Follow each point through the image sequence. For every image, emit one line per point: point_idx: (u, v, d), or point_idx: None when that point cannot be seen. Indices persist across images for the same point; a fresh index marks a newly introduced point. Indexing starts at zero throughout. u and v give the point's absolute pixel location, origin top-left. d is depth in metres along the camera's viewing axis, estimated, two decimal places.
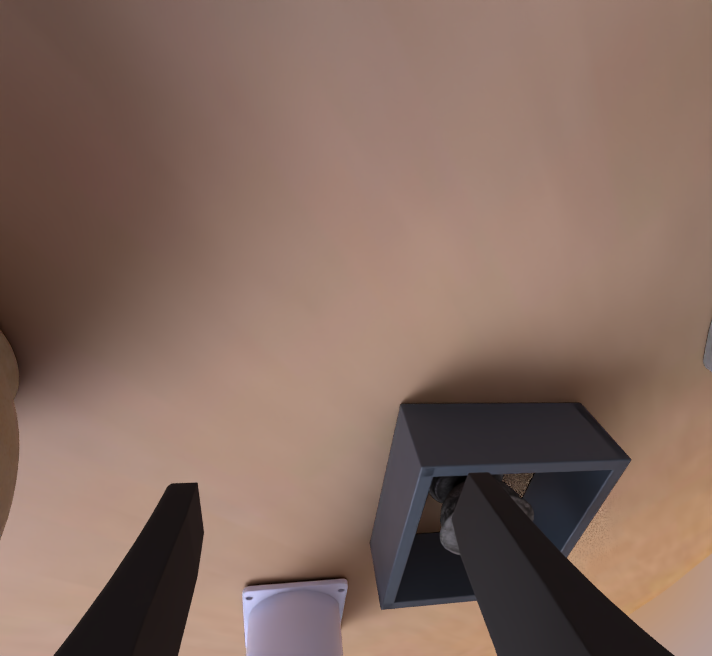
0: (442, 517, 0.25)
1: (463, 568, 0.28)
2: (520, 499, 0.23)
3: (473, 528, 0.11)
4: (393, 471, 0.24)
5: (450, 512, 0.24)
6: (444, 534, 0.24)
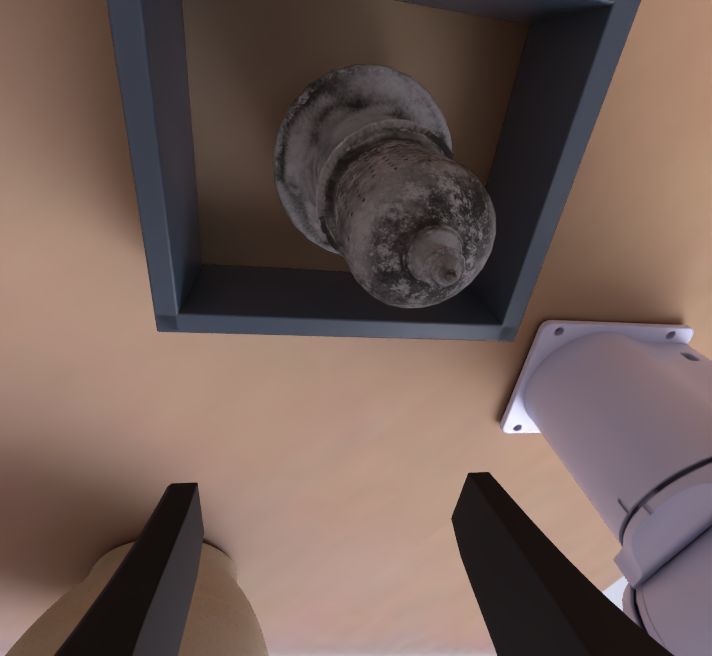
0: None
1: (524, 173, 0.15)
2: (285, 116, 0.12)
3: (473, 528, 0.11)
4: None
5: None
6: None
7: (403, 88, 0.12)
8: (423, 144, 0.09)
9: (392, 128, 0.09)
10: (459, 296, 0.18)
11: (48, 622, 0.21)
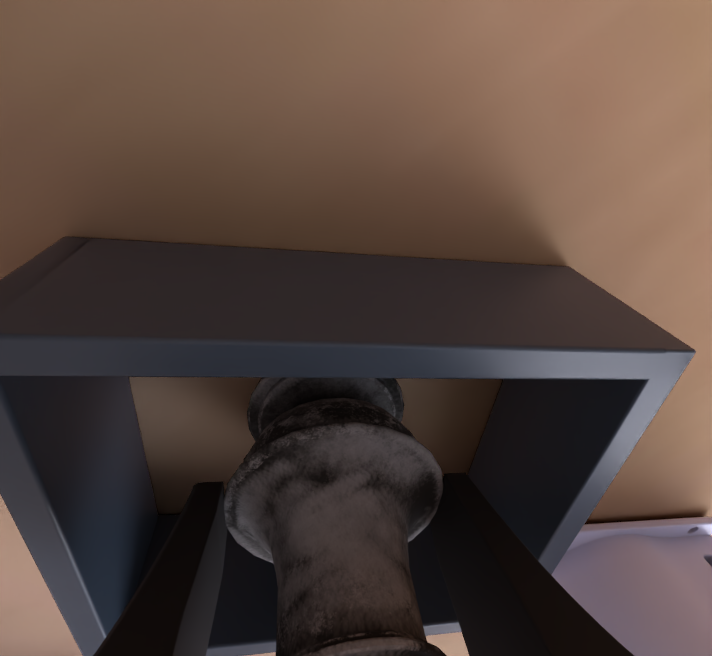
0: None
1: (531, 465, 0.12)
2: (234, 477, 0.10)
3: (448, 530, 0.10)
4: None
5: None
6: None
7: (380, 444, 0.10)
8: None
9: None
10: None
11: None
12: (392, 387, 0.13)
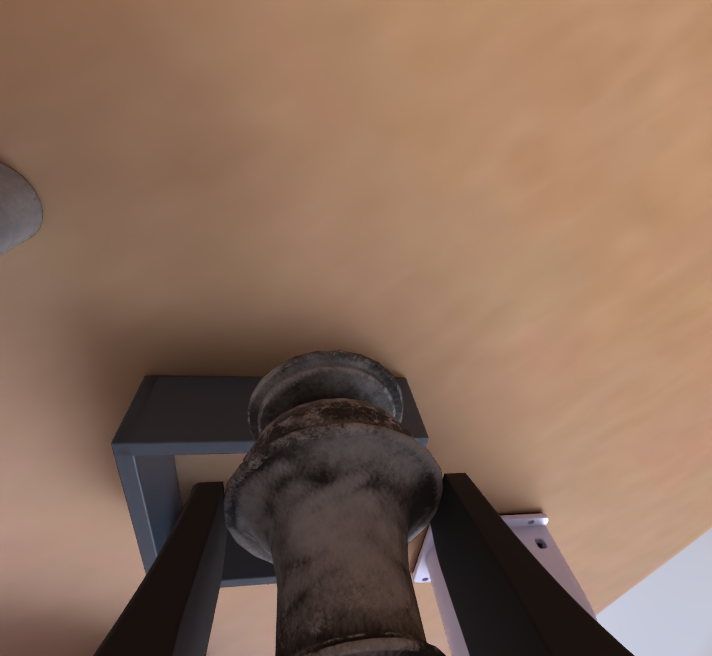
0: None
1: None
2: (234, 477, 0.10)
3: (448, 530, 0.10)
4: None
5: None
6: None
7: (380, 445, 0.10)
8: None
9: None
10: None
11: None
12: (392, 387, 0.13)
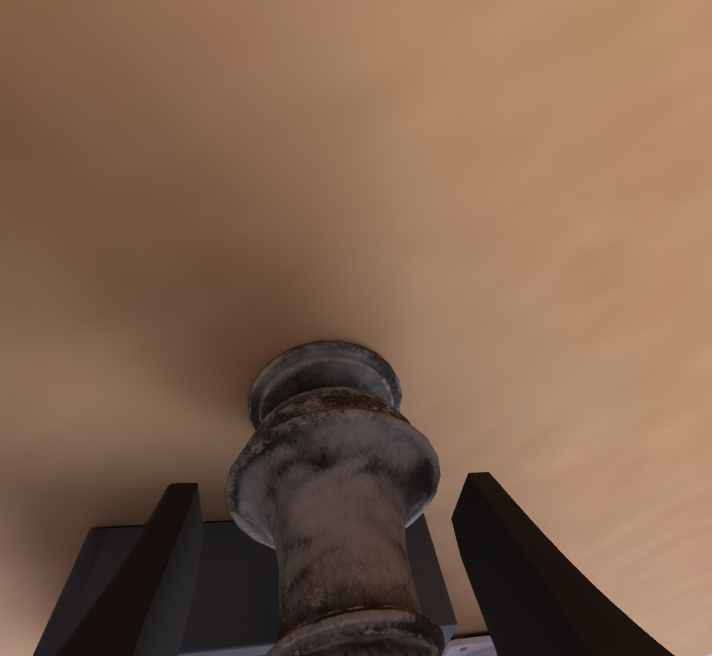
0: None
1: None
2: (236, 462, 0.10)
3: (473, 528, 0.11)
4: None
5: None
6: None
7: (378, 430, 0.10)
8: (395, 639, 0.07)
9: (354, 633, 0.07)
10: None
11: None
12: (390, 378, 0.14)
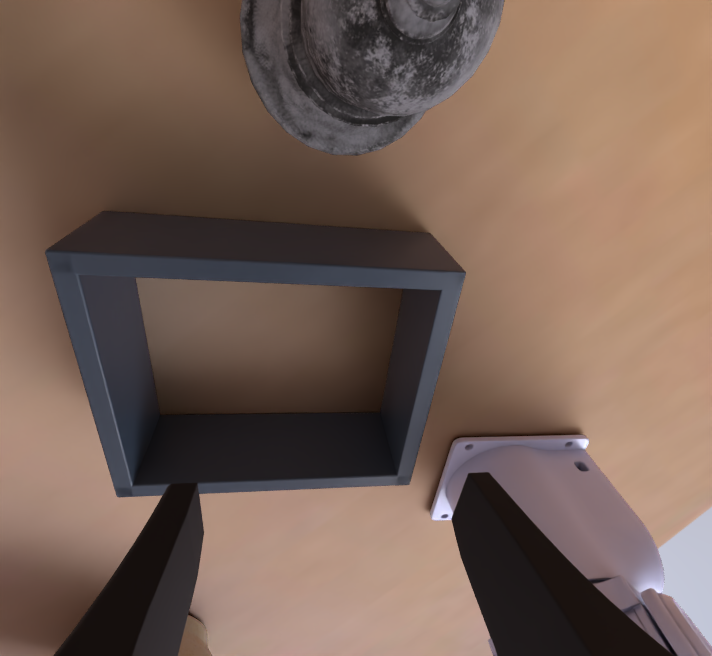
0: None
1: (407, 365, 0.19)
2: None
3: (473, 528, 0.11)
4: None
5: None
6: (347, 148, 0.13)
7: None
8: None
9: None
10: (371, 438, 0.22)
11: None
12: None
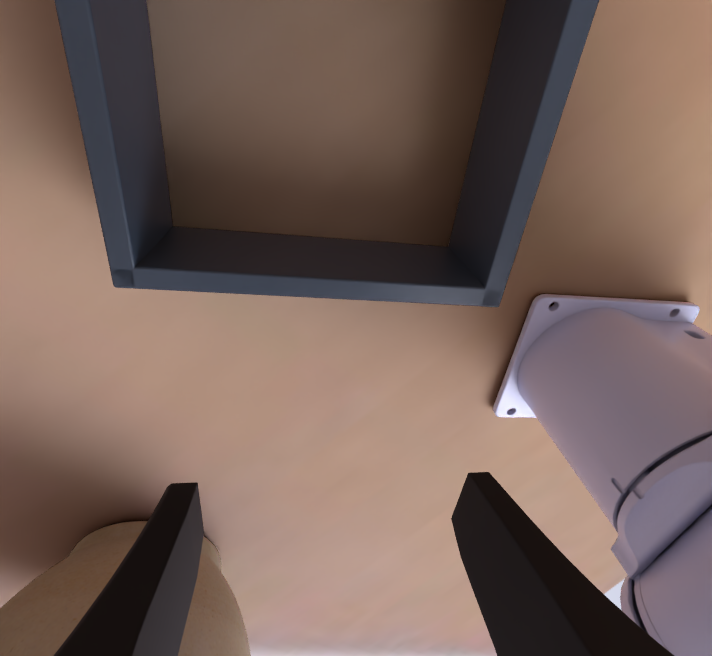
0: None
1: (508, 121, 0.14)
2: None
3: (473, 528, 0.11)
4: None
5: None
6: None
7: None
8: None
9: None
10: (443, 261, 0.17)
11: (17, 602, 0.20)
12: None
